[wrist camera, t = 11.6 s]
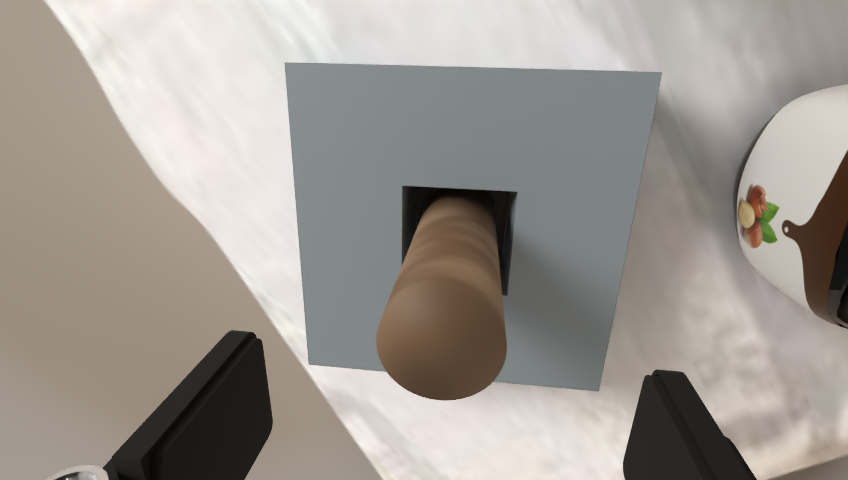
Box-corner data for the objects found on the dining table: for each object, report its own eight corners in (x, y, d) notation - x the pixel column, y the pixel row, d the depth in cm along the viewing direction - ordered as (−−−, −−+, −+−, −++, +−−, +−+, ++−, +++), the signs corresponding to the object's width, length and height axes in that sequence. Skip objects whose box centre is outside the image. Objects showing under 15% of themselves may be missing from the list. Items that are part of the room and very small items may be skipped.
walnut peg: (496, 179, 26) (513, 293, 13) (491, 245, 27) (501, 405, 14) (427, 176, 26) (375, 282, 13) (425, 240, 28) (376, 393, 15)
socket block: (625, 71, 23) (662, 72, 19) (579, 339, 29) (598, 391, 24) (321, 63, 25) (284, 62, 20) (334, 319, 30) (308, 364, 26)
